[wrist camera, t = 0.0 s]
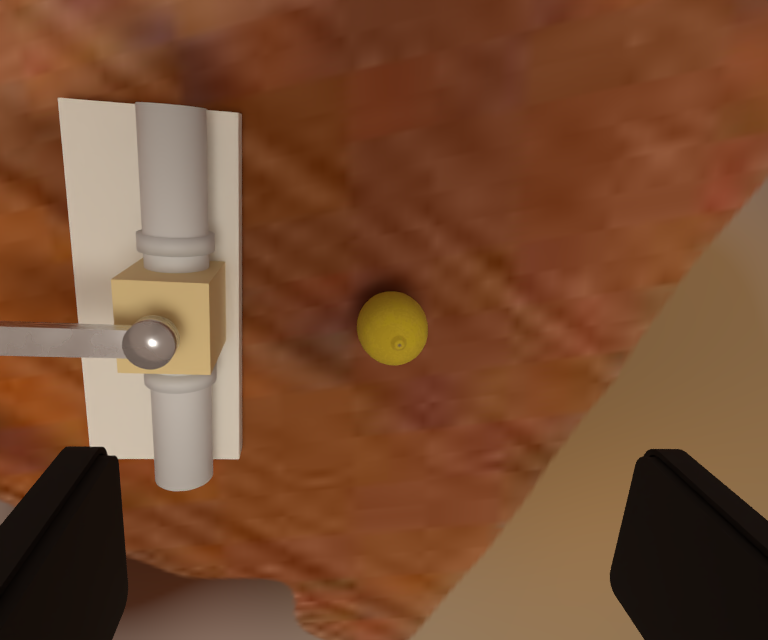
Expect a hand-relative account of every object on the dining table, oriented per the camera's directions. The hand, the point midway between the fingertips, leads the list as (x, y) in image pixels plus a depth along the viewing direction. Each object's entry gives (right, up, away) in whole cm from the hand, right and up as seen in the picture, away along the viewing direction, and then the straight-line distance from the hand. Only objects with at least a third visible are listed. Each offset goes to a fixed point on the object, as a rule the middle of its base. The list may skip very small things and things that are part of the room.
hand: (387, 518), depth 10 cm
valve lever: (-20, +3, +24) cm, 32 cm away
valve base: (-18, +6, +35) cm, 39 cm away
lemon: (0, +4, +38) cm, 38 cm away
